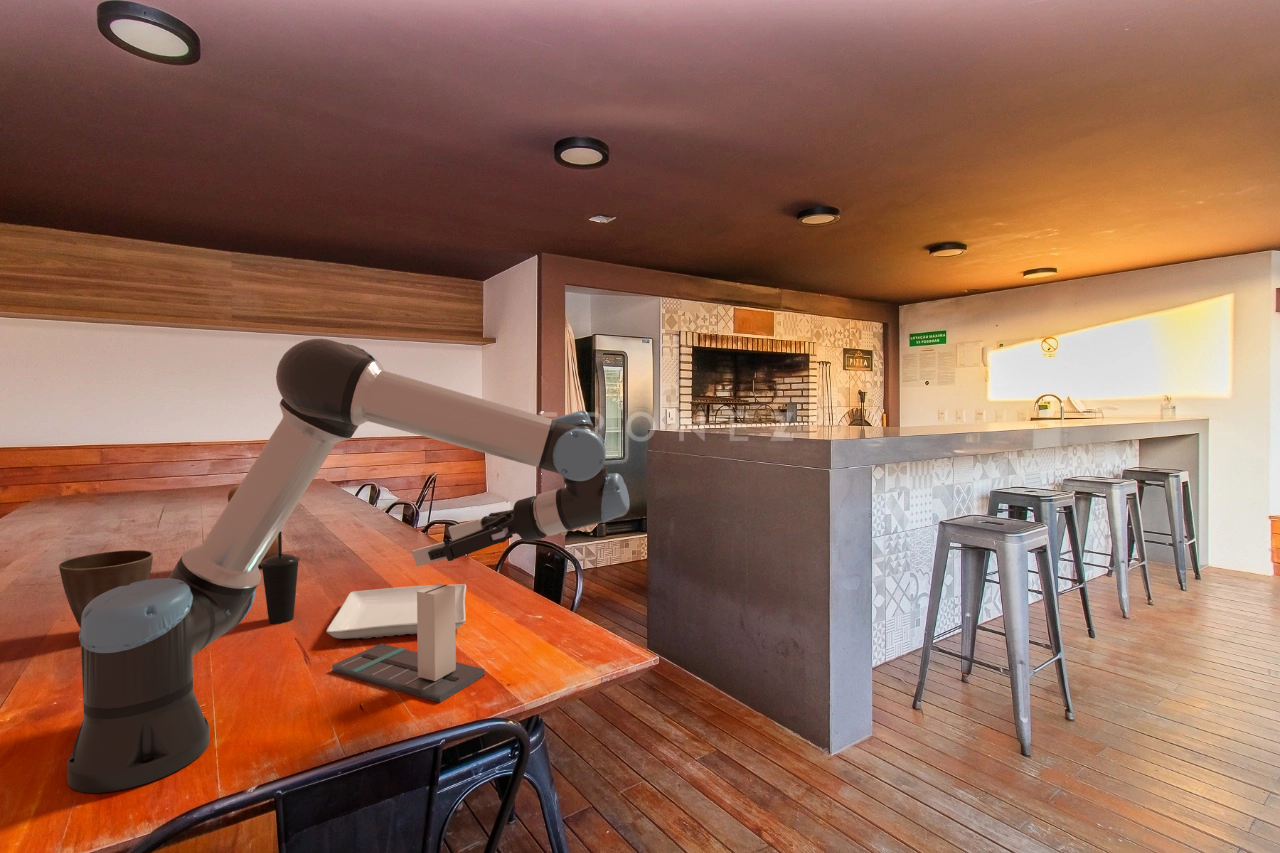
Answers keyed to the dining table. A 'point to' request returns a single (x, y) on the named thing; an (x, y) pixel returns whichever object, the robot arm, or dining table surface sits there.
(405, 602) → the square plate
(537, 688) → the dining table surface
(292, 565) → the drinking cup
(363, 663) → the dark grey marked board
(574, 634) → the dining table surface
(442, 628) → the fader tab
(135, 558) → the plant pot
